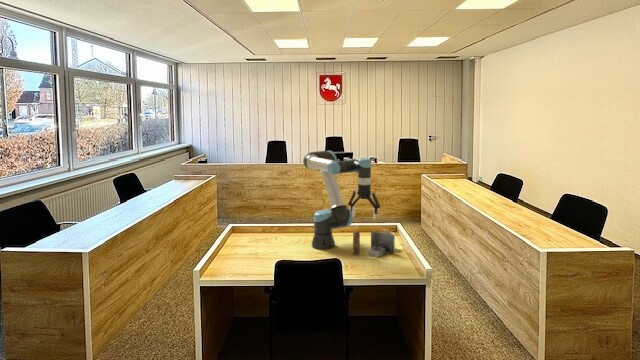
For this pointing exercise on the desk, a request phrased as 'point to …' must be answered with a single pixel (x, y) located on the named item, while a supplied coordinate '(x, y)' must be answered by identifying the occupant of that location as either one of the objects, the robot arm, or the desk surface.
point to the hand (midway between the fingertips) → (363, 217)
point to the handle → (356, 243)
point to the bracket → (381, 244)
